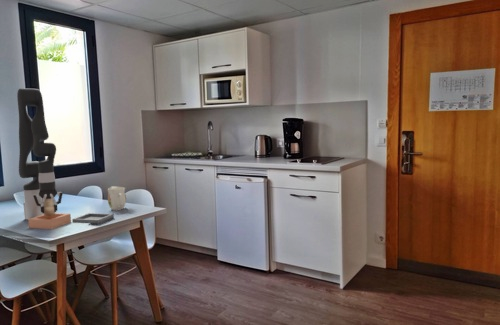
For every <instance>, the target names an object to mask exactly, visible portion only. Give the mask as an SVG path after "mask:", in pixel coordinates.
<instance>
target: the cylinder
mask: <svg viewBox="0 0 500 325" xmlns="http://www.w3.org/2000/svg"><path fill="white" fill-rule="evenodd" d="M43 206H44V216H53V215H55V213H56V212H55V210H54V202H53V199H52V198H51V199H45V202H44V205H43Z"/></svg>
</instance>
